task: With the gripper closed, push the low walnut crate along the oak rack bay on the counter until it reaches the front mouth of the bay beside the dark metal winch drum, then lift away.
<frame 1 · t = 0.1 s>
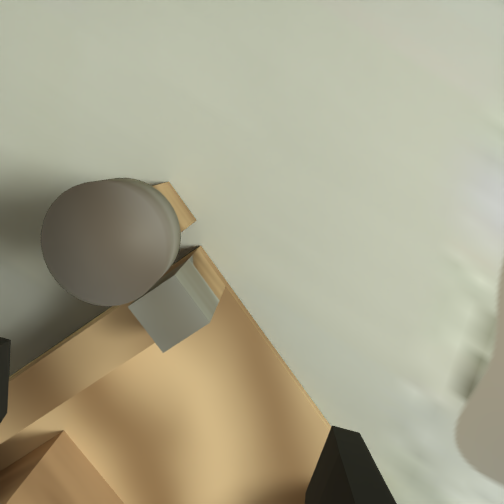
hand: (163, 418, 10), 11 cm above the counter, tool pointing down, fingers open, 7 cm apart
bay: (143, 470, 23), on the counter
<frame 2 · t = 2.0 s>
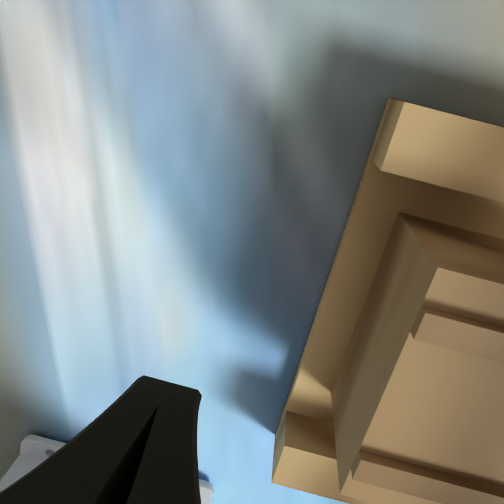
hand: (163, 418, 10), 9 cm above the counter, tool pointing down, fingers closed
crate: (438, 329, 17), point 1 cm above the counter, touching bay
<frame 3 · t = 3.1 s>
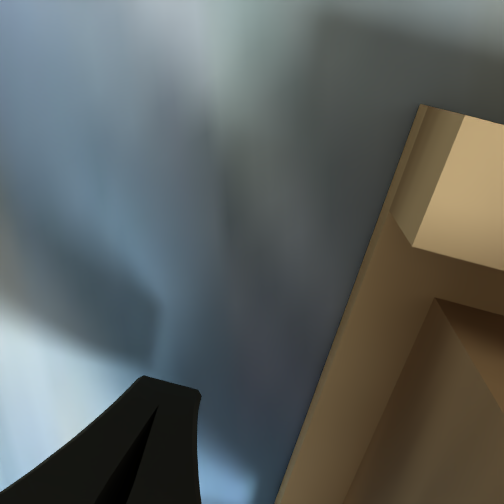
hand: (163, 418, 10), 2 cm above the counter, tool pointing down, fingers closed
crate: (492, 474, 11), point 1 cm above the counter, touching bay
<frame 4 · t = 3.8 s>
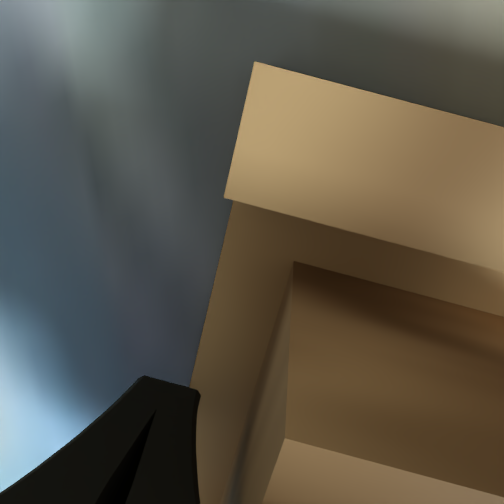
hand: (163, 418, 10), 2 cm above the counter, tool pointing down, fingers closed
crate: (369, 442, 11), point 1 cm above the counter, touching bay, gripper
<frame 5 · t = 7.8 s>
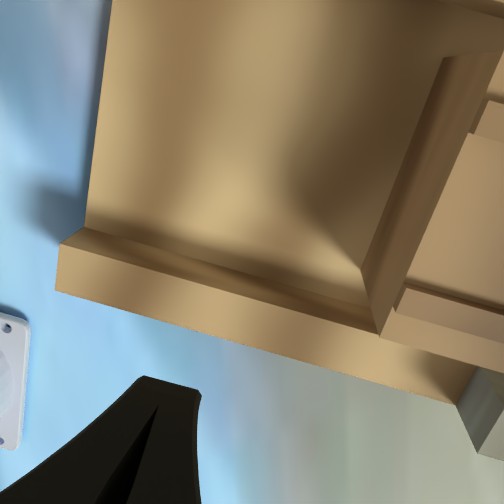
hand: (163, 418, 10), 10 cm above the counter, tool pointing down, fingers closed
crate: (477, 196, 17), point 1 cm above the counter, touching bay
bay: (338, 153, 17), on the counter
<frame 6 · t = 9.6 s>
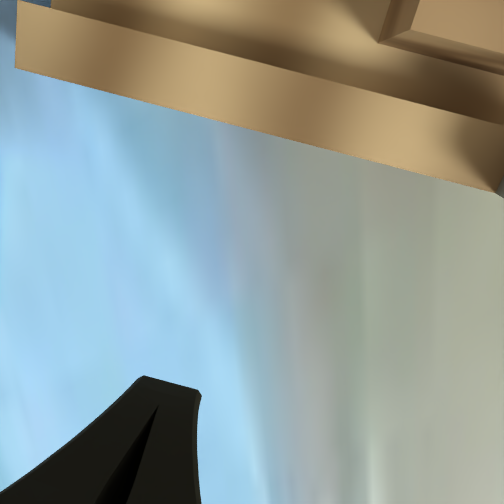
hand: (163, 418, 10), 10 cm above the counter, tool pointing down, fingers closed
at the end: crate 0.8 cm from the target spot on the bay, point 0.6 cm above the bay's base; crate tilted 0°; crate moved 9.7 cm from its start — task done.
